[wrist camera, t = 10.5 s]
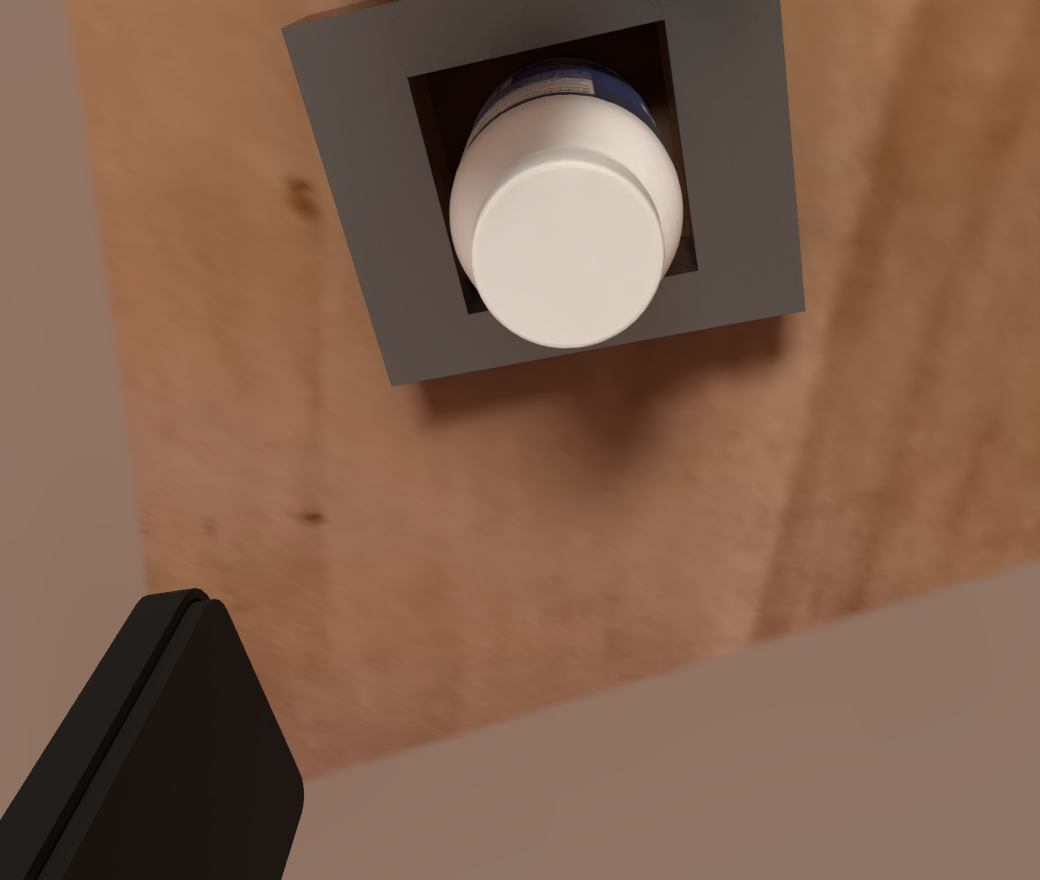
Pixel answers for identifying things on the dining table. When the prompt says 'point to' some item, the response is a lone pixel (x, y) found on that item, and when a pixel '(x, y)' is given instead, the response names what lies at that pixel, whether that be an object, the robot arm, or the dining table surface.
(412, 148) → the socket block
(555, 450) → the dining table surface
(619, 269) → the pill bottle
